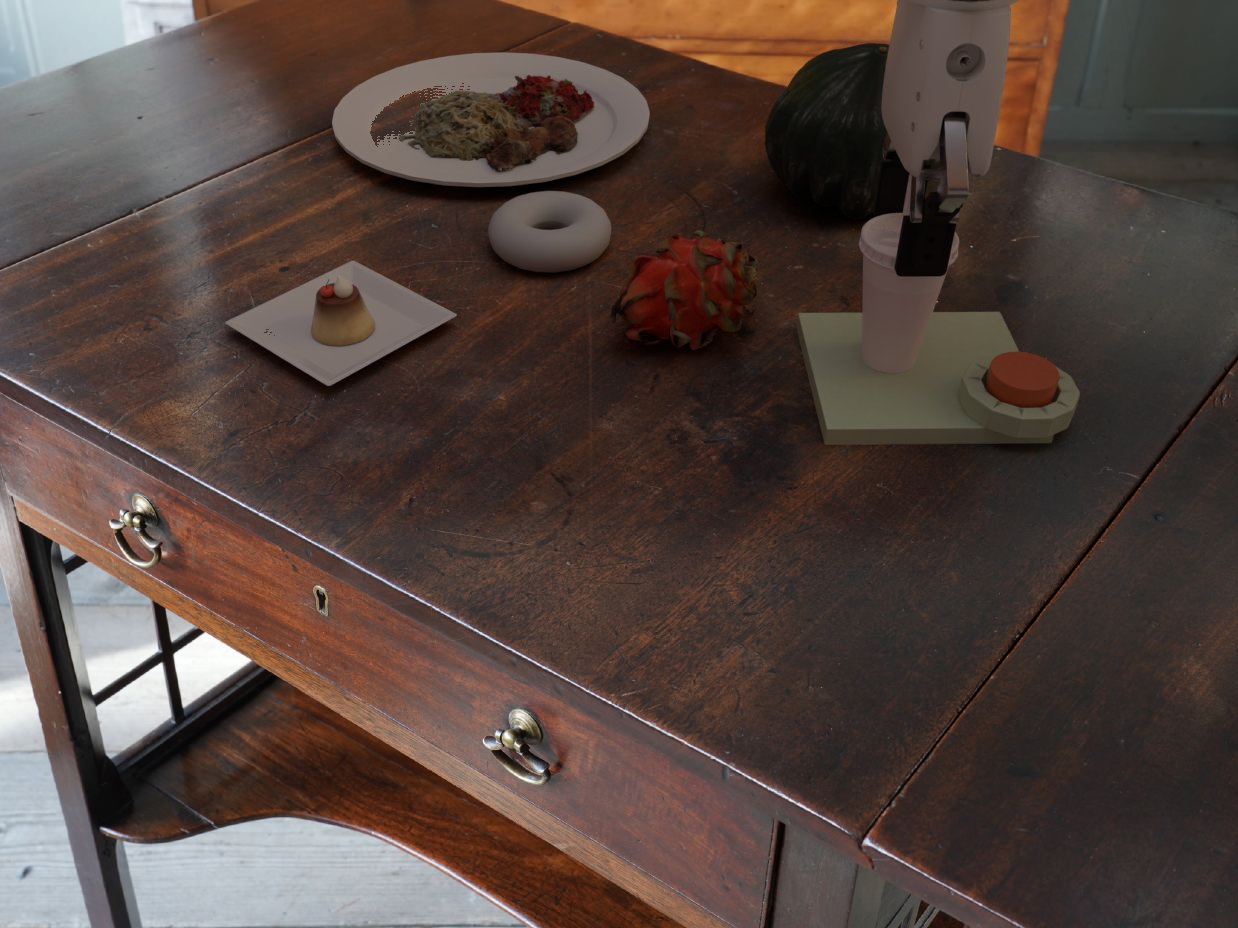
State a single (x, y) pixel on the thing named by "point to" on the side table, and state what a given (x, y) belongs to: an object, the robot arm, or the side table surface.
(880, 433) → the scale
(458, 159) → the plated food
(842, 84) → the squash
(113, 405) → the side table surface
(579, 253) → the donut
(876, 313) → the smoothie
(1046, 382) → the button
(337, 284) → the dessert
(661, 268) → the dragon fruit
